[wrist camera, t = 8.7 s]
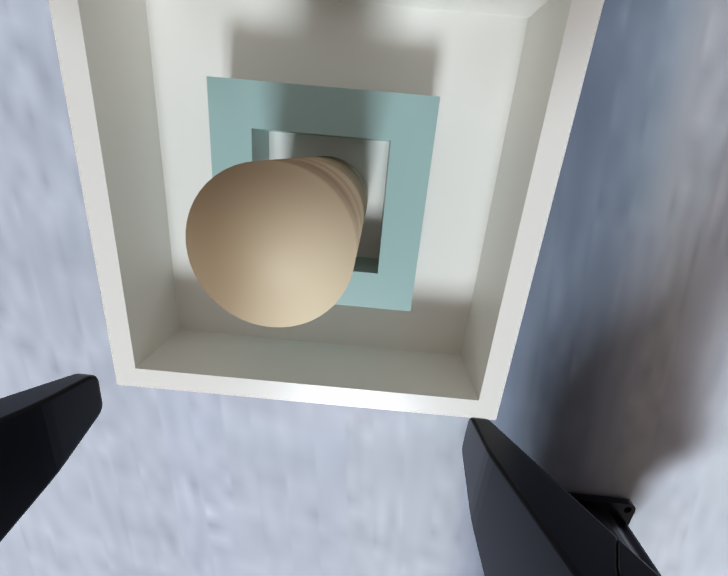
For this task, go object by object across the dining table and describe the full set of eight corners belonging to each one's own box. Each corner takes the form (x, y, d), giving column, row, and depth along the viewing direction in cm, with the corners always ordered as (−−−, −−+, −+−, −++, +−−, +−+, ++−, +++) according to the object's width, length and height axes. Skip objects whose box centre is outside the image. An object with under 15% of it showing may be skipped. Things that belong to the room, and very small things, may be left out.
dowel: (371, 160, 17) (362, 169, 8) (364, 242, 19) (348, 334, 9) (286, 152, 17) (177, 152, 8) (285, 235, 19) (192, 319, 9)
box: (554, -5, 15) (621, -65, 11) (472, 367, 22) (496, 420, 17) (123, -42, 15) (27, -115, 11) (168, 339, 22) (117, 384, 17)
